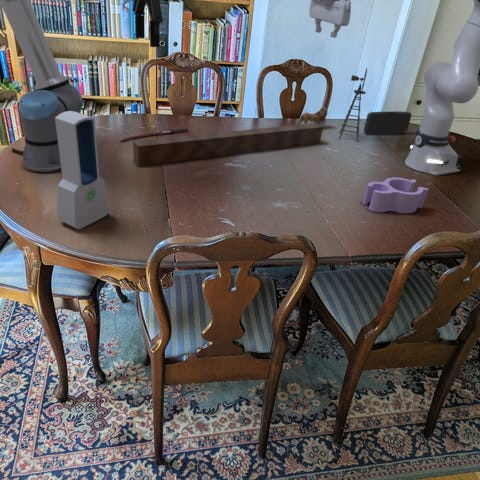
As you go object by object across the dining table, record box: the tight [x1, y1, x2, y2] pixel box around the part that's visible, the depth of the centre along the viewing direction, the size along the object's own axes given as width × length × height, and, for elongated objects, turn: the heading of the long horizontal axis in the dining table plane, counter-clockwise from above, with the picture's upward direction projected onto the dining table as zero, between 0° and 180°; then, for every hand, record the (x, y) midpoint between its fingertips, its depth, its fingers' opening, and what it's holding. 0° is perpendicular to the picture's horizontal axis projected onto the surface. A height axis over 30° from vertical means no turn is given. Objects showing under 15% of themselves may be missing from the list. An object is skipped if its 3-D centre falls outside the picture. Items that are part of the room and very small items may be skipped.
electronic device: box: [55, 111, 110, 231], centre depth 124 cm, size 12×8×30 cm, turn 148°
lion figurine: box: [297, 107, 328, 126], centre depth 215 cm, size 15×5×9 cm, turn 110°
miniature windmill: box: [339, 68, 368, 142], centre depth 203 cm, size 9×8×30 cm
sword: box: [120, 128, 189, 142], centre depth 190 cm, size 31×3×1 cm, turn 126°
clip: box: [362, 177, 429, 214], centre depth 156 cm, size 20×12×7 cm, turn 109°
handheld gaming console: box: [363, 110, 413, 135], centre depth 217 cm, size 23×3×10 cm, turn 108°
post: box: [132, 122, 324, 167], centre depth 182 cm, size 80×5×8 cm, turn 119°
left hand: (147, 42), depth 147 cm, fingers open, 13 cm apart
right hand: (325, 34), depth 177 cm, fingers open, 8 cm apart
